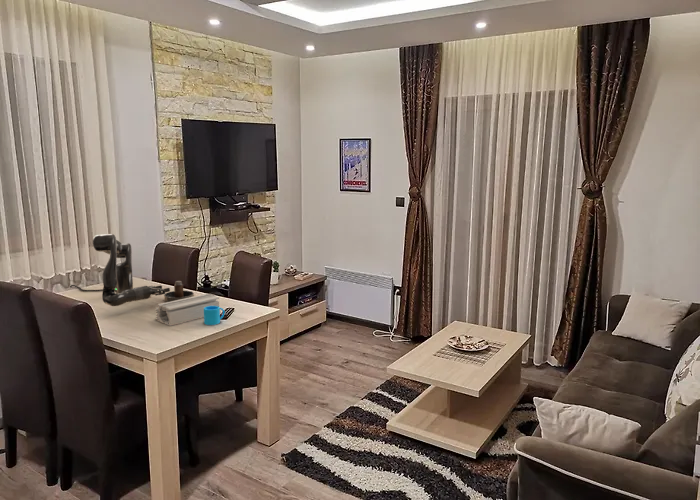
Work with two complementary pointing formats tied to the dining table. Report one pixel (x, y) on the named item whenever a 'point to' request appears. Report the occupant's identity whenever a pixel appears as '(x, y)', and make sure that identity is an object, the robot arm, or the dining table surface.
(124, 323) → the dining table surface
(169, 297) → the pan
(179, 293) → the pepper mill
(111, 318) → the dining table surface
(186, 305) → the aluminum extrusion profile
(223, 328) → the dining table surface
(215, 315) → the mug
